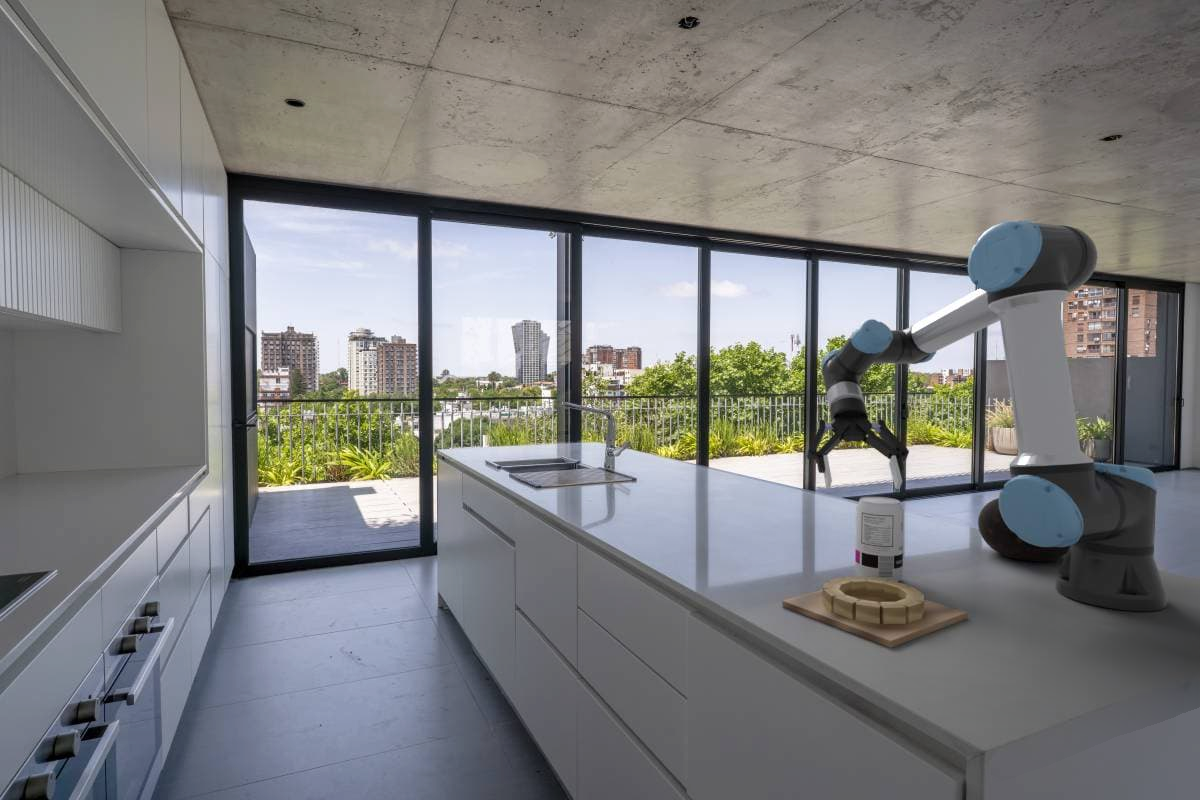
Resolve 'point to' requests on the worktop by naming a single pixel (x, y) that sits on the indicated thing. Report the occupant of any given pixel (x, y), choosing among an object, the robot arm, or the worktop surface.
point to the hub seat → (875, 609)
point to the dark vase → (1011, 537)
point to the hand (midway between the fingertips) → (863, 485)
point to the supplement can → (879, 538)
